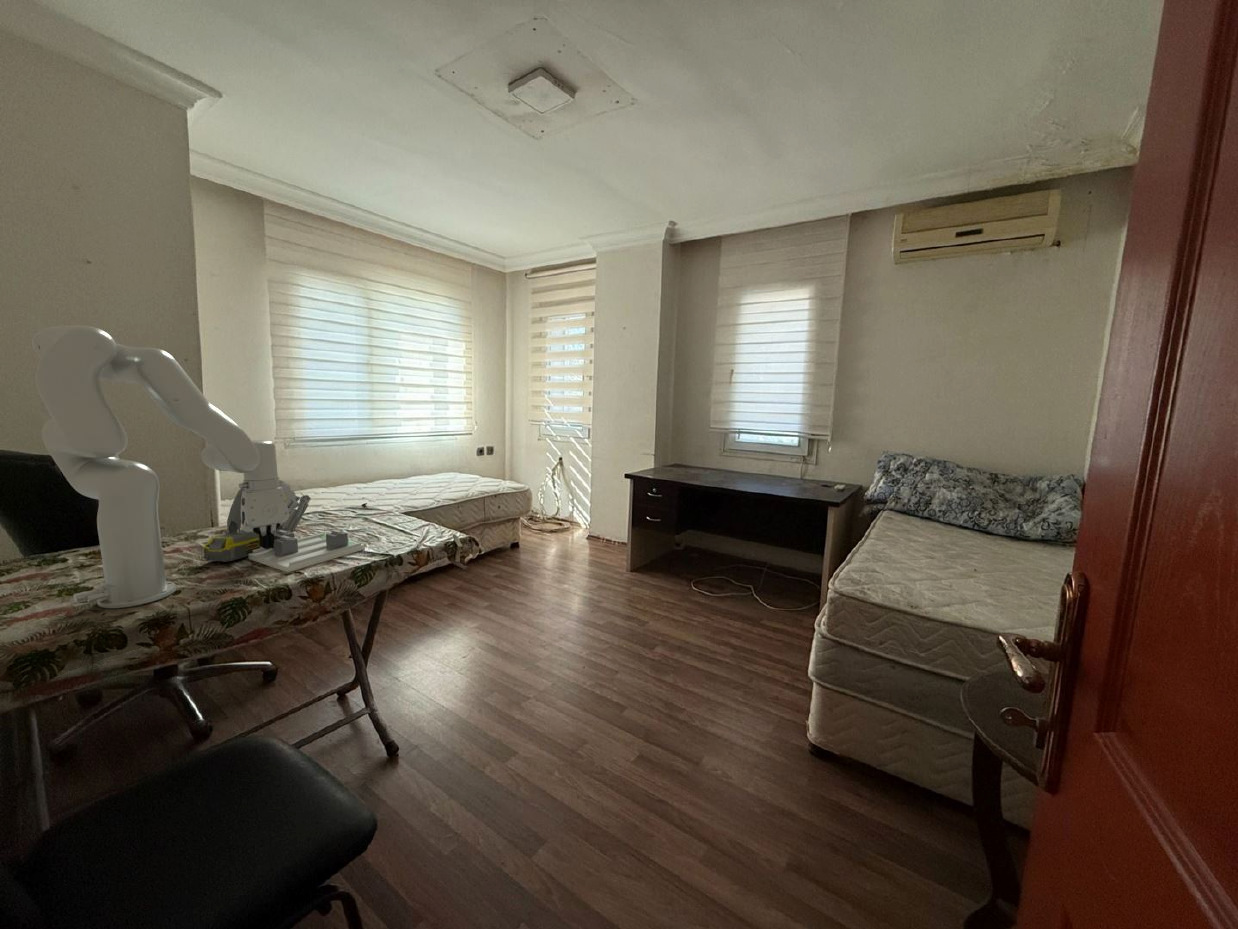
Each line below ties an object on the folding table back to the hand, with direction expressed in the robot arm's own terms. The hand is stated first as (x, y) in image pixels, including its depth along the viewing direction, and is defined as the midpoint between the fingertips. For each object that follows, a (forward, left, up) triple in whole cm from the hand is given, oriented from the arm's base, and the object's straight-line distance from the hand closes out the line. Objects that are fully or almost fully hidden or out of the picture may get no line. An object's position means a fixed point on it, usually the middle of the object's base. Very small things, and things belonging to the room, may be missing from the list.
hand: (267, 547), depth 133 cm
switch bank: (+8, -6, -3) cm, 10 cm away
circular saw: (+5, +13, -3) cm, 14 cm away
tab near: (+13, -12, -2) cm, 17 cm away
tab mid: (+2, -6, -2) cm, 6 cm away
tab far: (+4, 0, -2) cm, 4 cm away
